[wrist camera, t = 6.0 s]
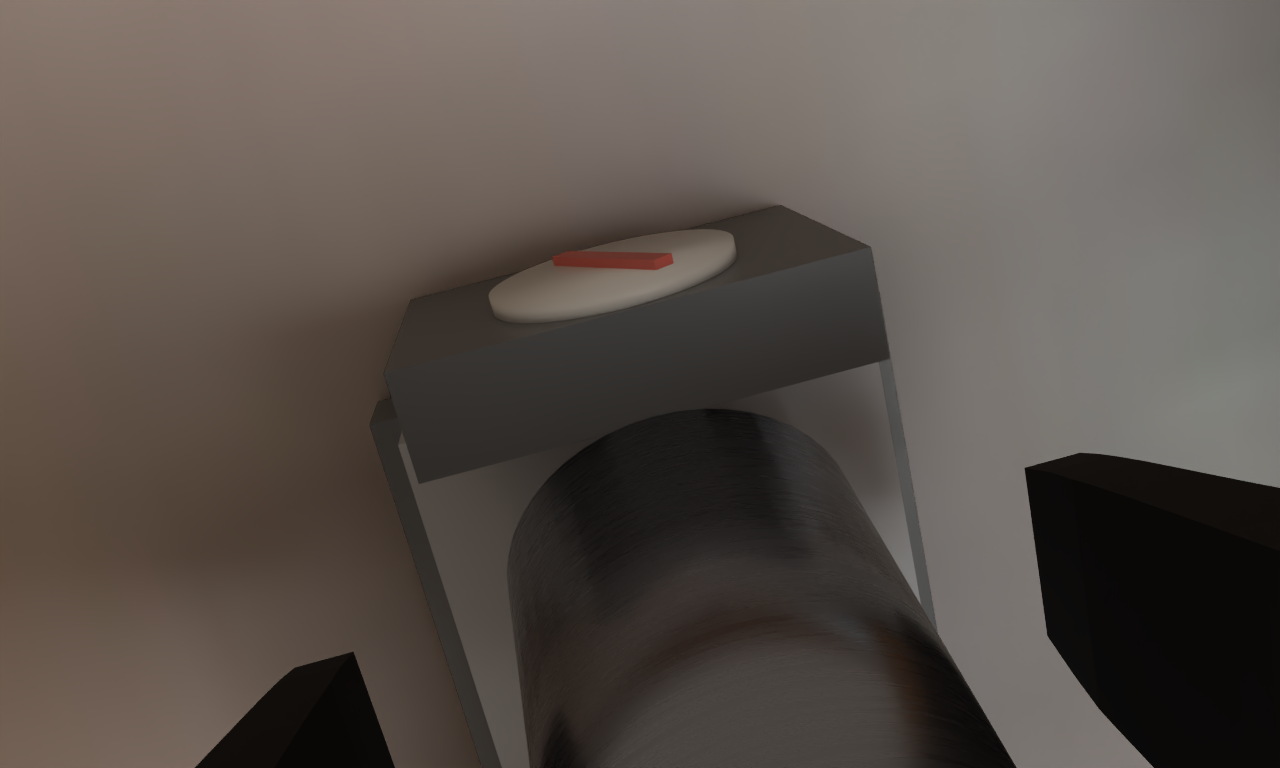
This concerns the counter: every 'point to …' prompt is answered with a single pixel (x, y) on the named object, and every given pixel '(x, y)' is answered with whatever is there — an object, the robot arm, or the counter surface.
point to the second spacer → (725, 612)
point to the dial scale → (624, 404)
